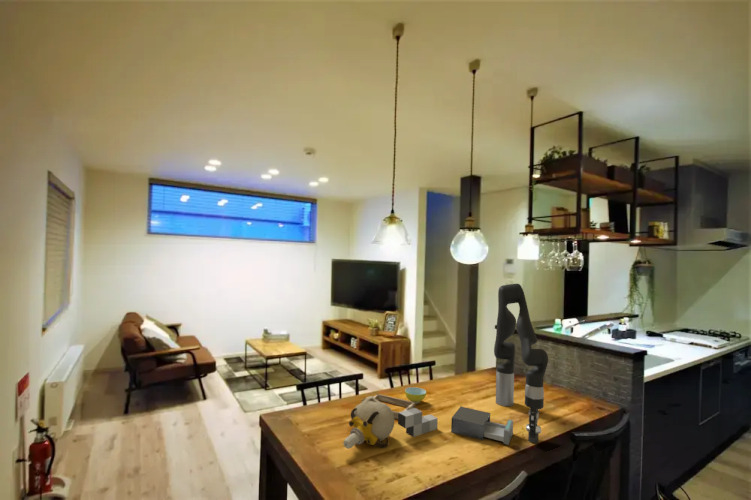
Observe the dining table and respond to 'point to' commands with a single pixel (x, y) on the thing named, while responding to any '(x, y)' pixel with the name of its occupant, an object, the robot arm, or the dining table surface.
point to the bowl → (415, 394)
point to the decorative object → (370, 423)
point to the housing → (469, 422)
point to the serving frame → (395, 402)
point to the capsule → (533, 440)
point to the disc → (538, 428)
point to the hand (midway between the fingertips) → (533, 434)
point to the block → (416, 422)
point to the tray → (499, 431)
